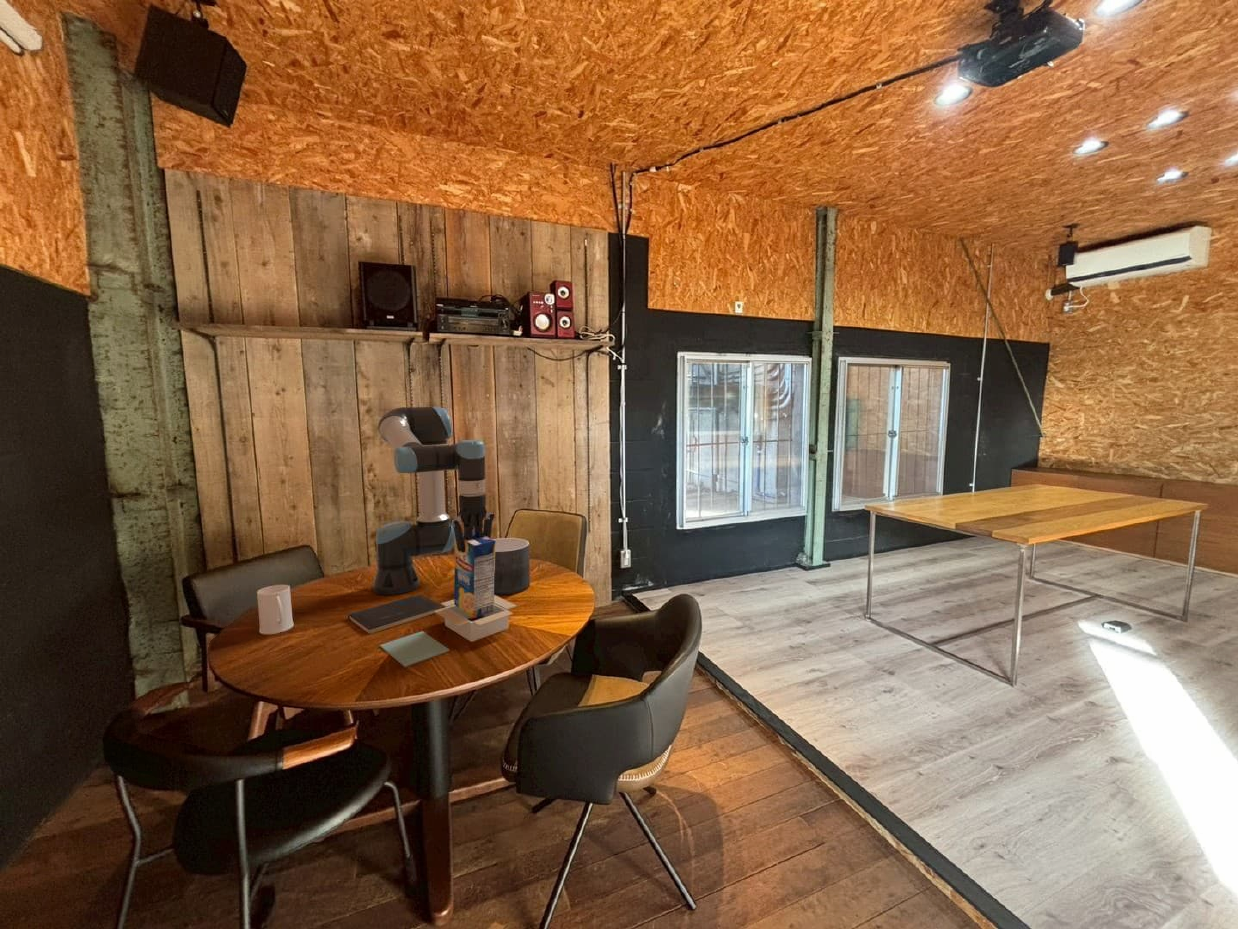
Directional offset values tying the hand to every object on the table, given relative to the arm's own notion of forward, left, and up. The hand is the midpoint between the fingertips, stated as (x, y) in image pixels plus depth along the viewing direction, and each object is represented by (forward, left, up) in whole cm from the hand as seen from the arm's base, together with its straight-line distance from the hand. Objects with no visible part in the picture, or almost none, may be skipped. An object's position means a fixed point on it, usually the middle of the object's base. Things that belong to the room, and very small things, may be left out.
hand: (474, 572), depth 152 cm
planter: (-23, +25, -17) cm, 38 cm away
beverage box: (-1, 0, -11) cm, 12 cm away
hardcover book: (-26, -13, -17) cm, 34 cm away
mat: (0, -19, -17) cm, 25 cm away
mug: (-40, -42, -17) cm, 60 cm away
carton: (0, 0, -17) cm, 17 cm away
